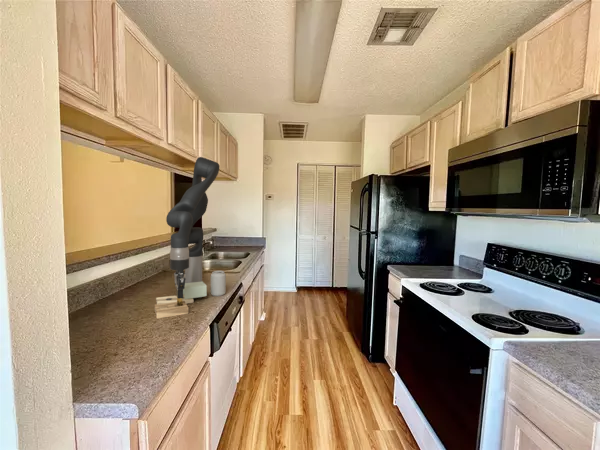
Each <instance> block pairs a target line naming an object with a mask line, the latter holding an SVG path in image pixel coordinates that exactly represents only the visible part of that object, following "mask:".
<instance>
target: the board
mask: <svg viewBox="0 0 600 450" xmlns="http://www.w3.org/2000/svg"><path fill="white" fill-rule="evenodd" d="M183 301H185V303H186V304H187V305H188V304H192V303H194V298H189V299H184V294H183ZM155 302H156V305H157V304H164V303H171V302H177V296H176V295H175V294H174V295H169V296H160V297H155Z"/></svg>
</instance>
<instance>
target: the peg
mask: <svg viewBox="0 0 600 450" xmlns="http://www.w3.org/2000/svg"><path fill="white" fill-rule="evenodd" d="M181 305H183V298H179V299H178V298H177V306H181Z"/></svg>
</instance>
